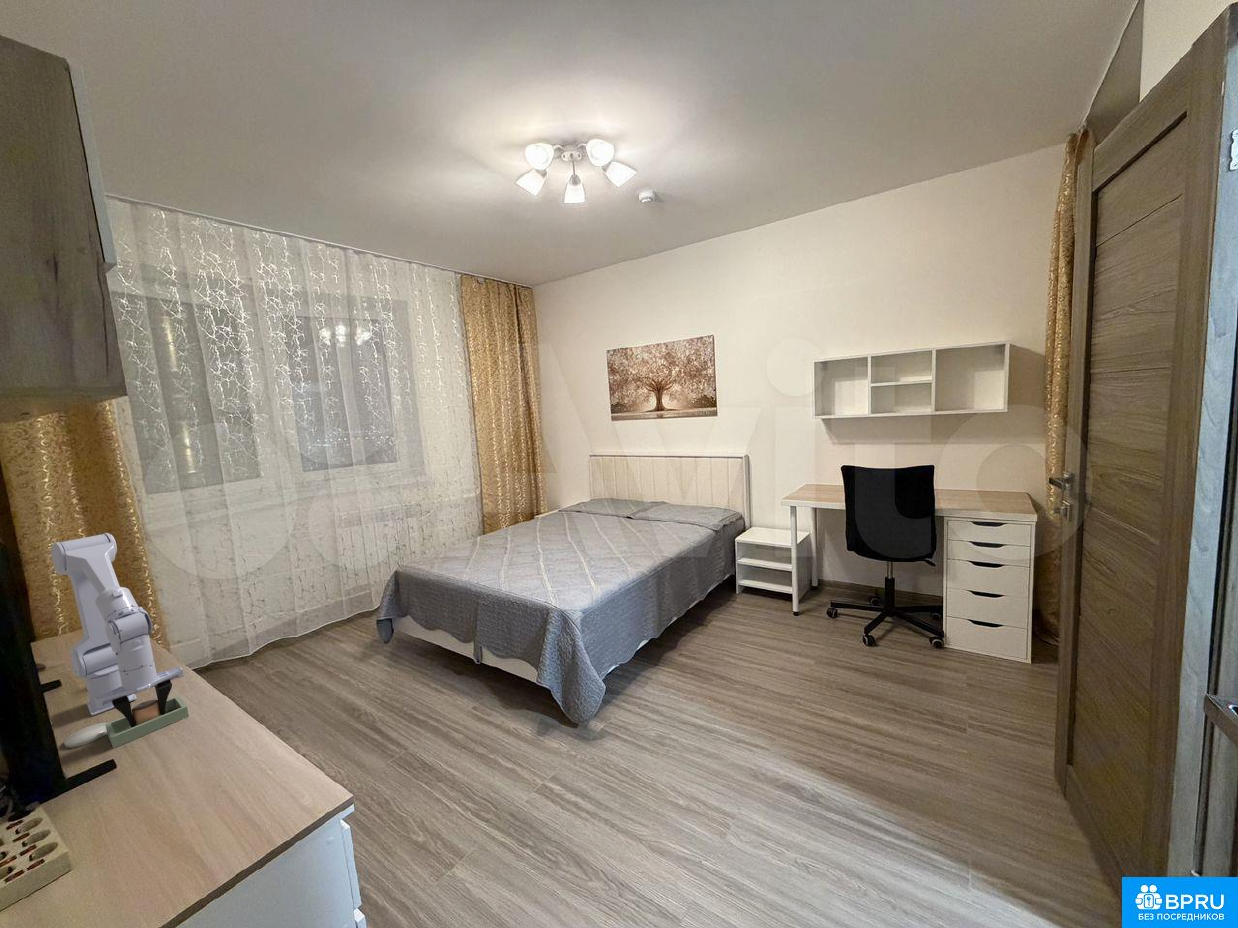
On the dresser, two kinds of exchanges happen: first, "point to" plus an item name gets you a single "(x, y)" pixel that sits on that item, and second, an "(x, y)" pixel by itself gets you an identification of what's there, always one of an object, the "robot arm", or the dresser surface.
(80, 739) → the pale grey saucer
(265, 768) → the dresser surface
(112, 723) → the box
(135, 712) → the terracotta pot
